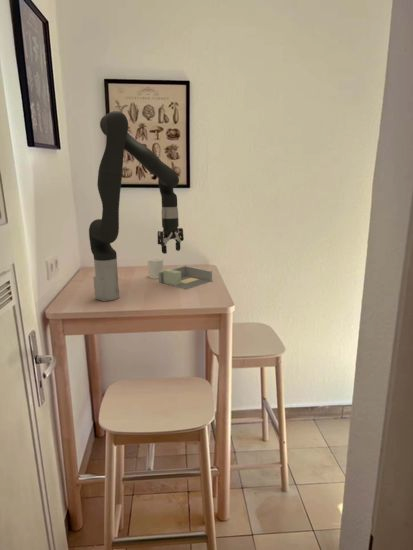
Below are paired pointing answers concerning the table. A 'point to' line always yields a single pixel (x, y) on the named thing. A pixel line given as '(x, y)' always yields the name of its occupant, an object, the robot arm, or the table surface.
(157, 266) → the white cup
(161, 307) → the table surface
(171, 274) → the sage block
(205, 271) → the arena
